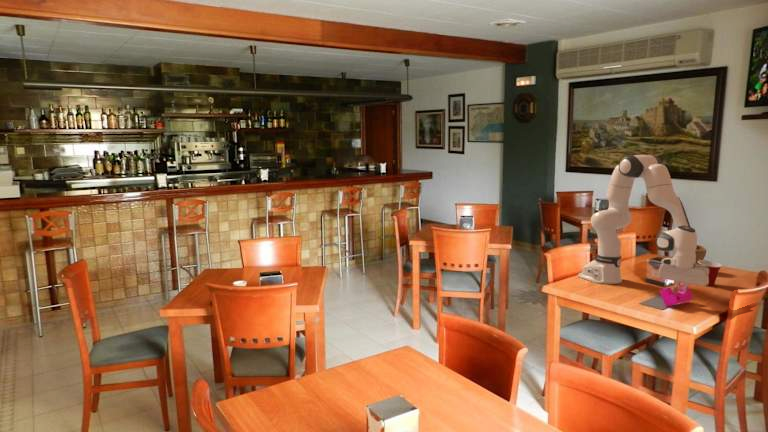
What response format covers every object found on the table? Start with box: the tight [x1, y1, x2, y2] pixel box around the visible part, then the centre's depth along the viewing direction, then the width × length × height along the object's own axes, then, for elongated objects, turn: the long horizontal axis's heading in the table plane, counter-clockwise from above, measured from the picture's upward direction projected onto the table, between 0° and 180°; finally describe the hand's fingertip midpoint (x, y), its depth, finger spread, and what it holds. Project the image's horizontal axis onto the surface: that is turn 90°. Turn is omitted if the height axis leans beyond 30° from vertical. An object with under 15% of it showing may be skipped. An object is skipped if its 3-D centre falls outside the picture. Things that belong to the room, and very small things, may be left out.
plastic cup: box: [698, 259, 723, 287], centre depth 261 cm, size 11×11×12 cm
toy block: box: [659, 284, 694, 306], centre depth 232 cm, size 15×6×8 cm, turn 116°
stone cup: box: [695, 244, 707, 264], centre depth 287 cm, size 15×12×15 cm
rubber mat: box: [638, 293, 673, 311], centre depth 238 cm, size 10×24×1 cm, turn 127°
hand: (682, 291), depth 231 cm, fingers closed, pressing on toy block
